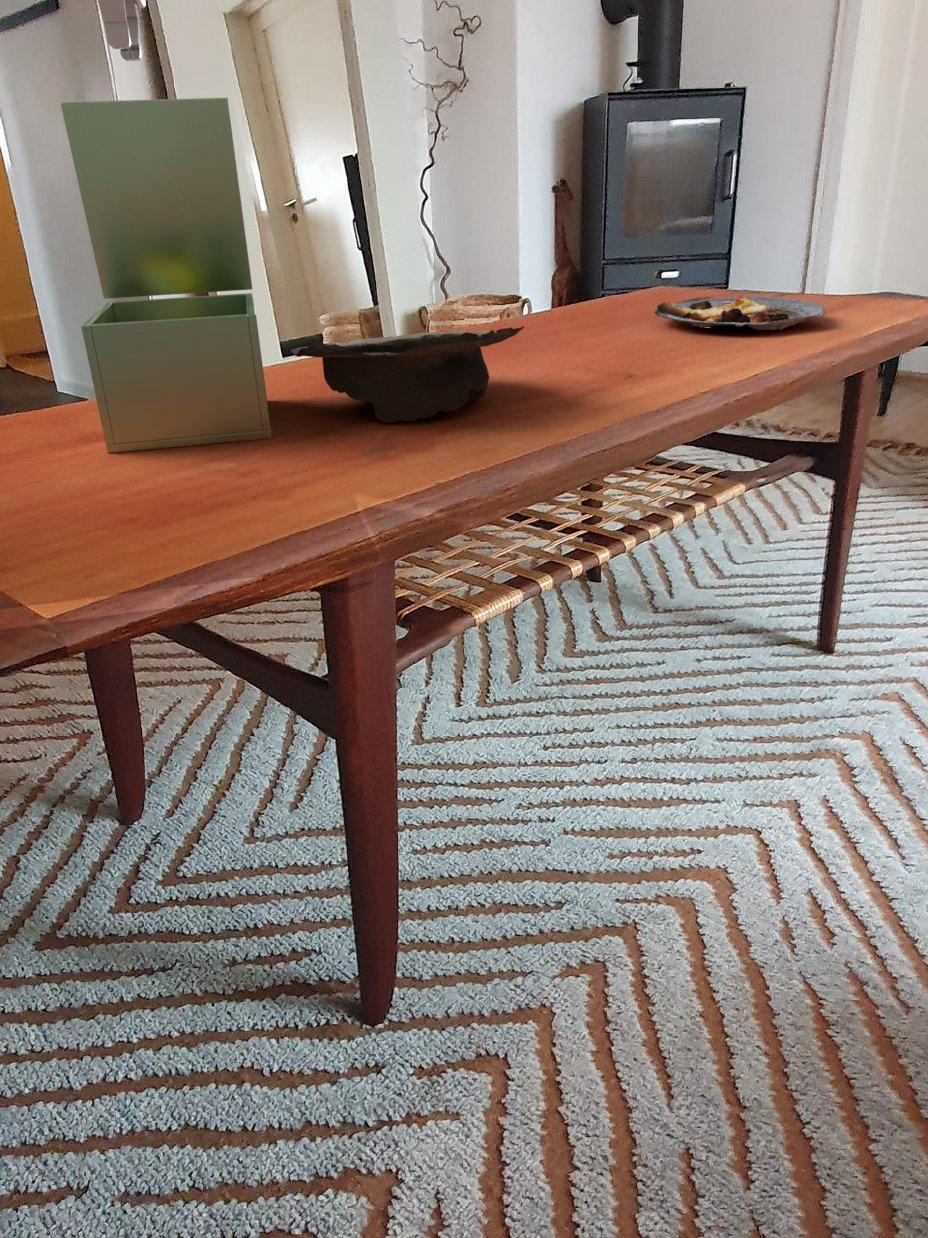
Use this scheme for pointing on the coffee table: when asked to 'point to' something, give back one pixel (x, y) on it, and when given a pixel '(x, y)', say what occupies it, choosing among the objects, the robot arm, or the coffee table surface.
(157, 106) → the breadbin lid
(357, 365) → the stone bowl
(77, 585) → the coffee table surface
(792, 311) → the food plate
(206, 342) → the box
